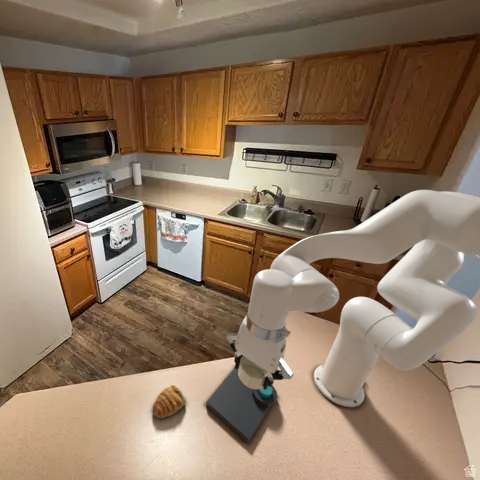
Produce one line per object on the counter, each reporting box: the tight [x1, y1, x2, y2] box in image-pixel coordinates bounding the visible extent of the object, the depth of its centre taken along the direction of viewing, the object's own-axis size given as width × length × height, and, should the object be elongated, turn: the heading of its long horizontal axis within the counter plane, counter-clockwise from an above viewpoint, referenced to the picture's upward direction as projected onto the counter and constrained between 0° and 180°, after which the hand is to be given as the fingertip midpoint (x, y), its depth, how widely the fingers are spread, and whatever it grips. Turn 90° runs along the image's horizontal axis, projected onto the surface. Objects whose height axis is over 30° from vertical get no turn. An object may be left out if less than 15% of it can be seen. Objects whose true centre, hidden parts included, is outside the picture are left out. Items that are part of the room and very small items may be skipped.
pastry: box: [152, 384, 187, 419], centre depth 73 cm, size 9×7×4 cm
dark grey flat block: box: [205, 366, 278, 444], centre depth 73 cm, size 16×14×4 cm
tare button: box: [258, 386, 272, 398], centre depth 72 cm, size 4×4×2 cm
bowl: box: [238, 356, 267, 389], centre depth 64 cm, size 7×7×4 cm
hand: (252, 374), depth 64 cm, fingers closed on bowl, 6 cm apart
